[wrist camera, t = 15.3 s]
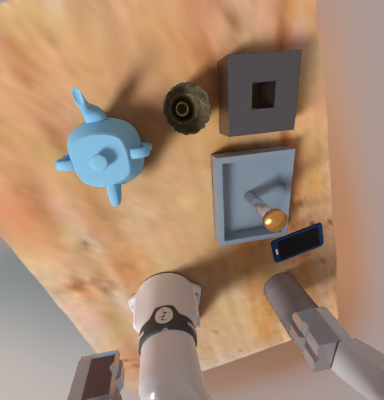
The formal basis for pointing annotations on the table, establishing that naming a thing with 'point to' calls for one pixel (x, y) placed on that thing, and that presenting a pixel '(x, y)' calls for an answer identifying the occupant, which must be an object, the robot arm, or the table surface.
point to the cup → (187, 108)
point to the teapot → (103, 150)
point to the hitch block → (268, 94)
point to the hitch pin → (267, 212)
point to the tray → (250, 181)
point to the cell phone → (297, 242)
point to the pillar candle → (287, 298)
